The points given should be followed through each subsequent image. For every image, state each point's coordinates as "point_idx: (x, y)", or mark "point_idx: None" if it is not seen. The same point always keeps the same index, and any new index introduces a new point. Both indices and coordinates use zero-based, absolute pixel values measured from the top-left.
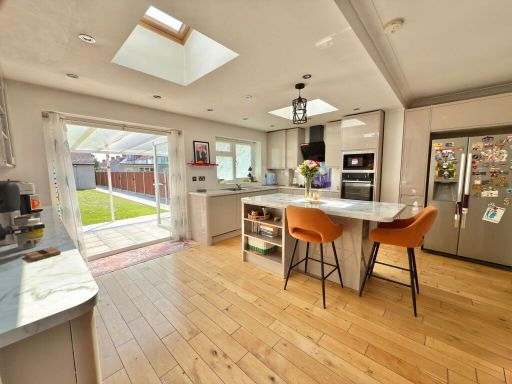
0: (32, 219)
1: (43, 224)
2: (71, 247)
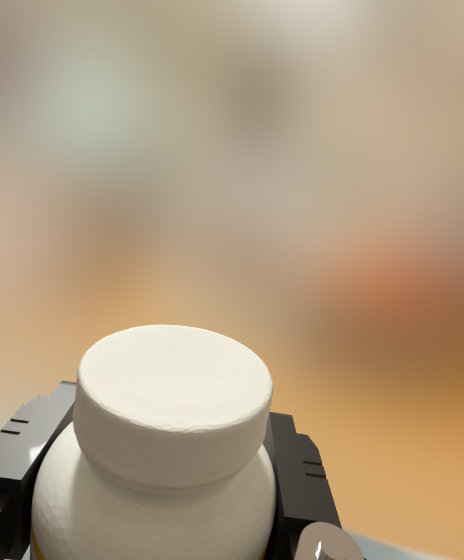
0: (181, 380)
1: (291, 425)
2: (357, 542)
